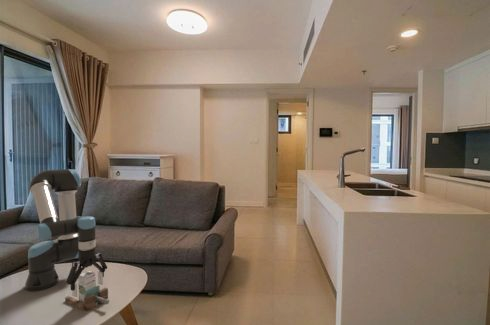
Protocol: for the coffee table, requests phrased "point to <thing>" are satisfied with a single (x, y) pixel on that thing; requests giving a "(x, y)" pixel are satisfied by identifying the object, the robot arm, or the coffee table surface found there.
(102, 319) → the coffee table surface
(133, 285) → the coffee table surface
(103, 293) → the lane
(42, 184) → the robot arm
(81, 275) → the syrup box
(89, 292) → the pusher
